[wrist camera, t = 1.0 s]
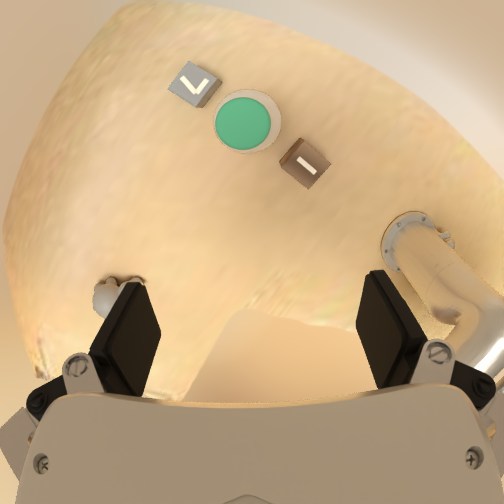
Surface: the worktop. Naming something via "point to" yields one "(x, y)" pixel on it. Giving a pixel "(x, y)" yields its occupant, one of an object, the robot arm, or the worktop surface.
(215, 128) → the milk bottle
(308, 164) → the walnut block
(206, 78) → the slate grey block
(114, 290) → the chubby cartoon animal
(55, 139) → the worktop surface
